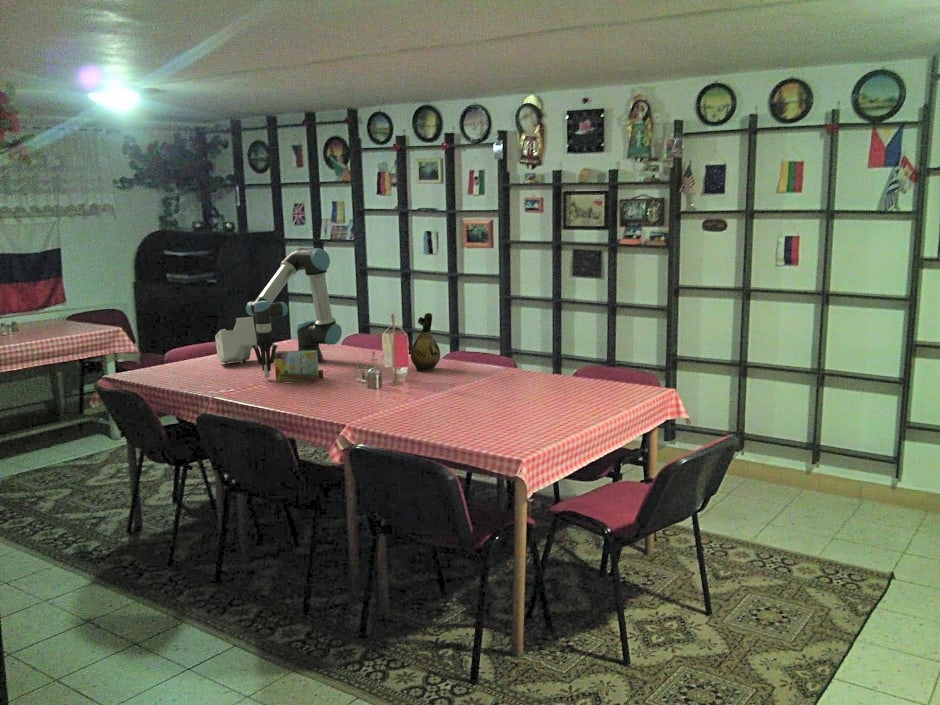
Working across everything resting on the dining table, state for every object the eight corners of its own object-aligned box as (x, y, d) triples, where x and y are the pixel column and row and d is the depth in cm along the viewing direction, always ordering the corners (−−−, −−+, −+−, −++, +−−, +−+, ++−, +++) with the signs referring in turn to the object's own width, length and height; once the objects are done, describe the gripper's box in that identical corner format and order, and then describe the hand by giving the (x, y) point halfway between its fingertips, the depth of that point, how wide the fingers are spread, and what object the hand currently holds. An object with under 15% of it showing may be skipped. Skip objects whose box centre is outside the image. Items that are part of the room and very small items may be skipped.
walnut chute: (290, 377, 434) (289, 369, 433) (323, 377, 431) (323, 370, 430) (280, 382, 421) (279, 375, 421) (314, 383, 418) (314, 375, 417)
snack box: (319, 379, 428) (317, 349, 425) (316, 381, 423) (314, 351, 420) (279, 379, 430) (277, 350, 427) (275, 381, 425) (273, 352, 422)
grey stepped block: (222, 363, 462) (216, 319, 465) (217, 369, 476) (211, 326, 479) (259, 360, 471) (253, 316, 474) (253, 365, 485) (246, 323, 488)
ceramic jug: (433, 373, 433) (431, 316, 428) (406, 372, 439) (404, 315, 433) (446, 367, 448) (444, 311, 443) (420, 365, 454) (418, 310, 449)
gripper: (248, 332, 422) (252, 378, 427) (273, 332, 420) (276, 379, 424) (255, 330, 430) (258, 375, 434) (279, 330, 427) (282, 375, 431)
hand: (267, 377), depth 429 cm, fingers closed
